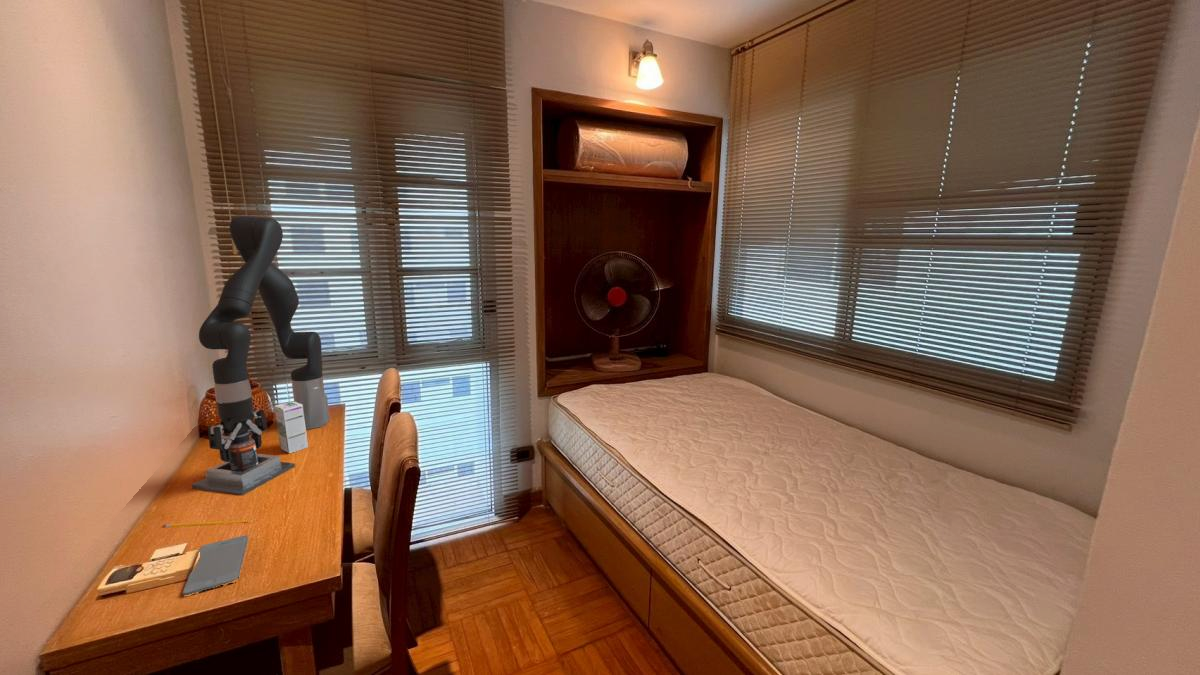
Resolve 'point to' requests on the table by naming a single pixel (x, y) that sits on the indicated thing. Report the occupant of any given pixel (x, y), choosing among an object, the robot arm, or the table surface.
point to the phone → (217, 564)
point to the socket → (242, 476)
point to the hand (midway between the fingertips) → (242, 454)
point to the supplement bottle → (243, 453)
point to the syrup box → (291, 426)
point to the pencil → (203, 523)
